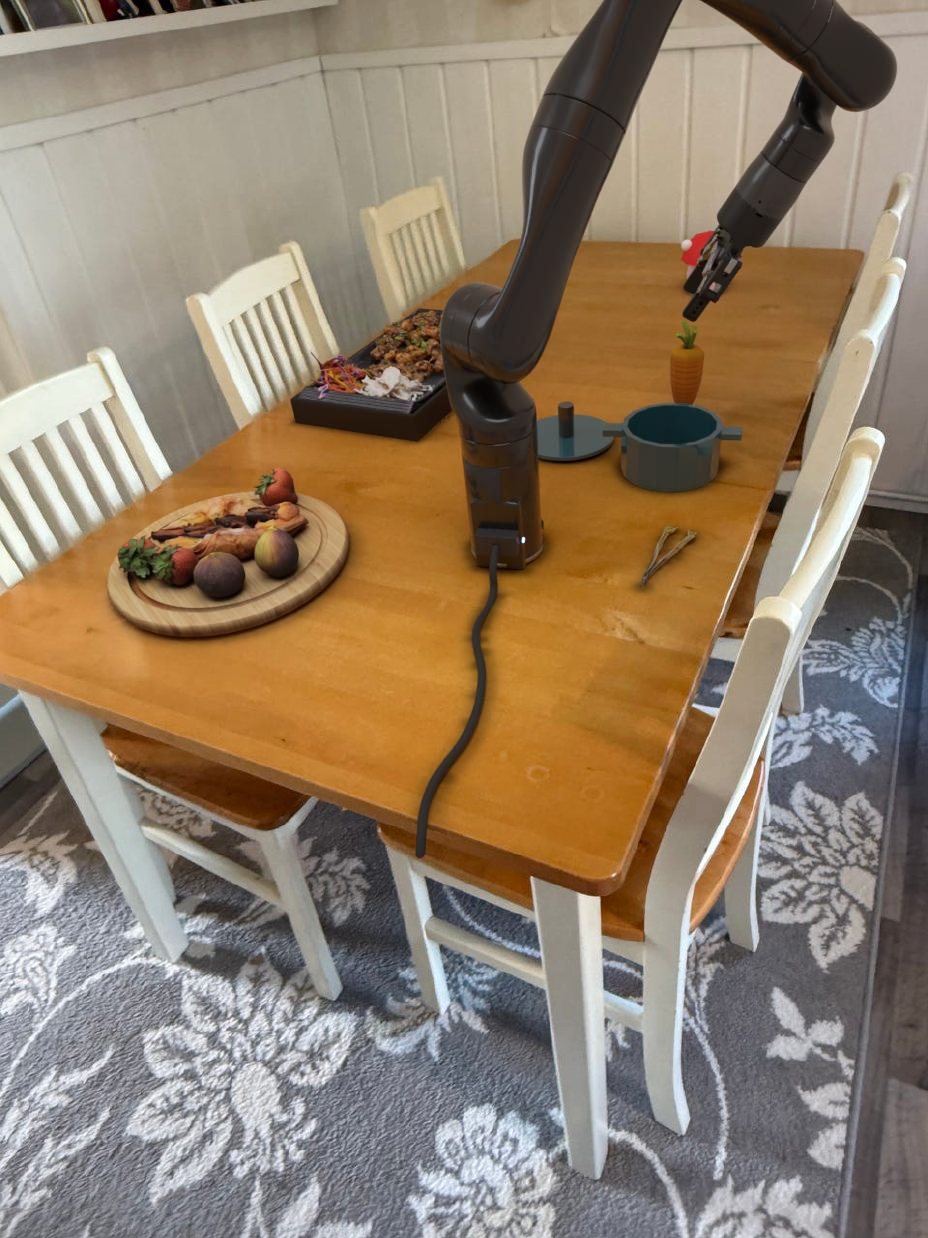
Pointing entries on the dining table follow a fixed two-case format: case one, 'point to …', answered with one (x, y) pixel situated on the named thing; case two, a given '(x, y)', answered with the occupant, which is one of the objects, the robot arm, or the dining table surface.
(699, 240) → the mushroom
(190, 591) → the wooden plate
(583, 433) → the pan lid
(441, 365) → the food platter
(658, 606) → the dining table surface
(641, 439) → the saucepan
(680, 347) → the carrot
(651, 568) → the tongs
